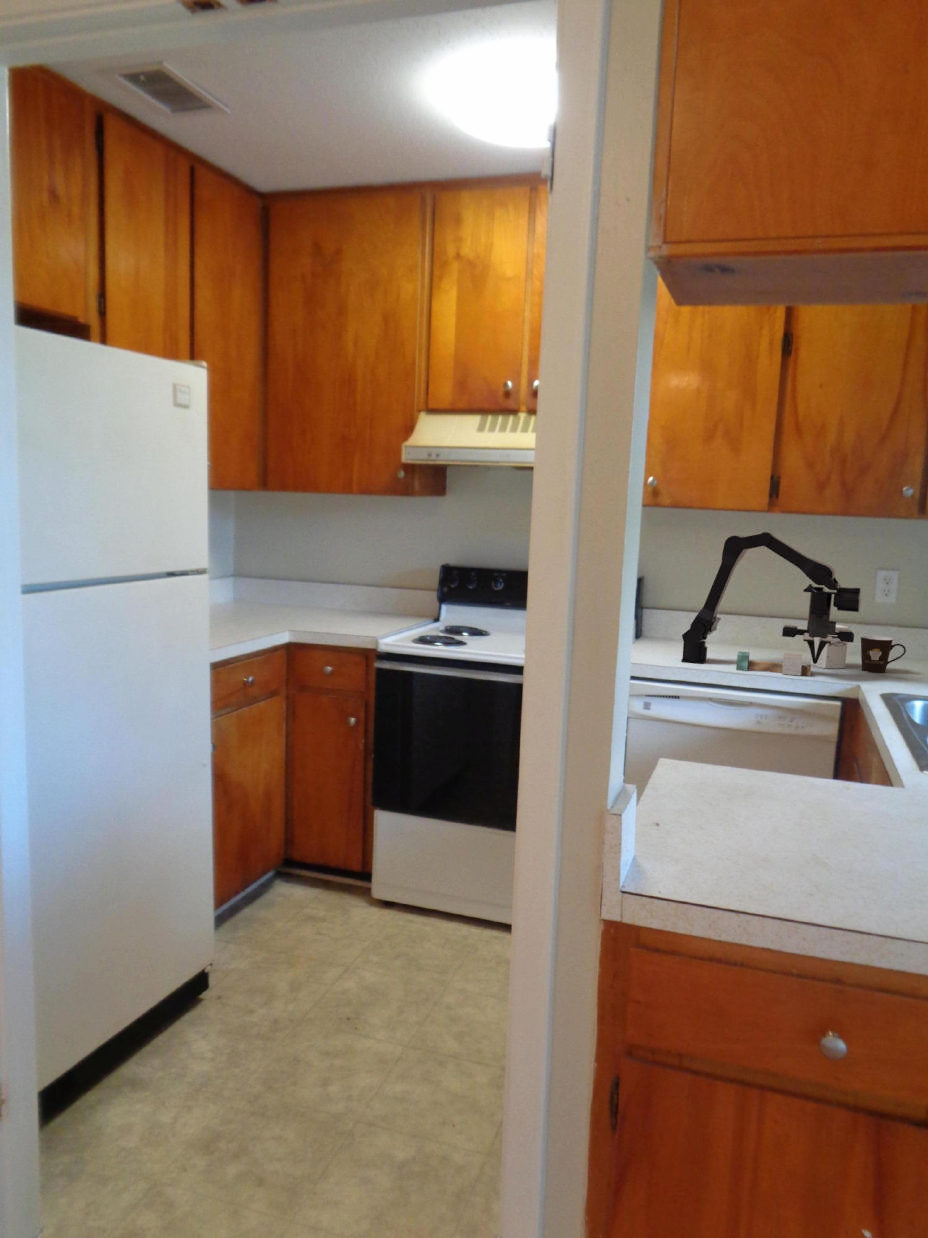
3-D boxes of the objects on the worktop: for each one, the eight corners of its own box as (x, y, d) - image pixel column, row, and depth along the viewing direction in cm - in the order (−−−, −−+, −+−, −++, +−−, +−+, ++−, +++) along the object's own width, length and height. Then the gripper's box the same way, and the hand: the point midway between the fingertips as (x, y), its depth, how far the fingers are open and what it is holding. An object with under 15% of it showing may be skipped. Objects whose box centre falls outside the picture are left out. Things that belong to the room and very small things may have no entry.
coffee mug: (852, 670, 266) (855, 636, 264) (866, 667, 271) (869, 634, 270) (891, 676, 257) (894, 642, 256) (905, 673, 262) (908, 640, 261)
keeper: (782, 673, 254) (783, 656, 253) (782, 669, 260) (783, 652, 260) (800, 675, 252) (802, 658, 252) (800, 671, 259) (802, 654, 258)
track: (736, 670, 258) (737, 654, 258) (737, 666, 265) (738, 651, 264) (810, 677, 251) (811, 661, 251) (810, 673, 258) (811, 657, 257)
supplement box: (824, 668, 266) (828, 626, 264) (809, 664, 273) (812, 623, 272) (845, 668, 268) (849, 626, 266) (829, 664, 275) (833, 623, 274)
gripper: (784, 609, 248) (779, 664, 250) (857, 614, 241) (851, 671, 243) (784, 605, 258) (780, 658, 260) (855, 610, 252) (849, 665, 254)
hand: (814, 663), depth 254 cm, fingers closed
